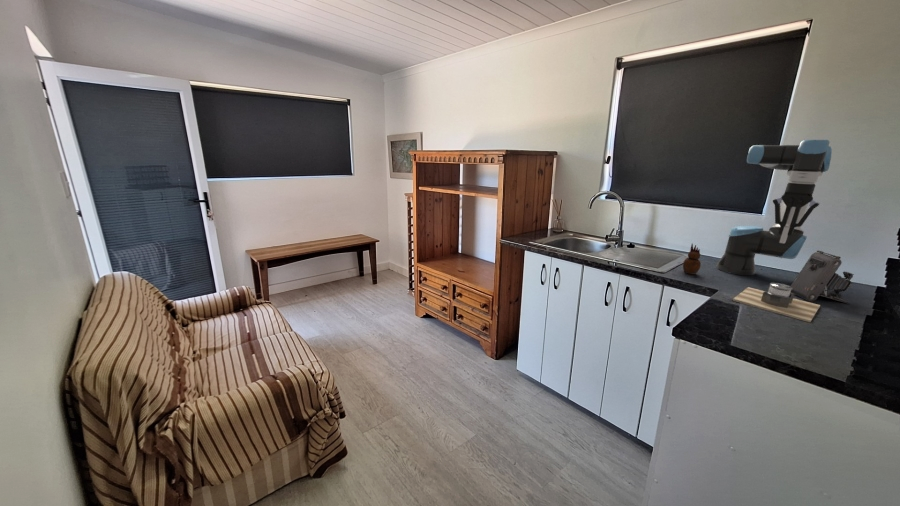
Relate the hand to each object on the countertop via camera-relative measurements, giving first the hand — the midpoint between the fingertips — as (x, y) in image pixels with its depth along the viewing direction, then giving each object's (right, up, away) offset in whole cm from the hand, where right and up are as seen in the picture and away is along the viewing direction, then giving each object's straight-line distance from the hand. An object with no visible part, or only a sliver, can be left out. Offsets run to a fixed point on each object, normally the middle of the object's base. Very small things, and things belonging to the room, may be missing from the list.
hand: (782, 242), depth 133 cm
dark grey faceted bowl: (-3, -24, 0) cm, 25 cm away
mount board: (-3, -24, 0) cm, 25 cm away
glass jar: (-4, -24, -1) cm, 24 cm away
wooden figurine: (-13, -14, +33) cm, 38 cm away
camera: (+21, -23, +7) cm, 32 cm away
